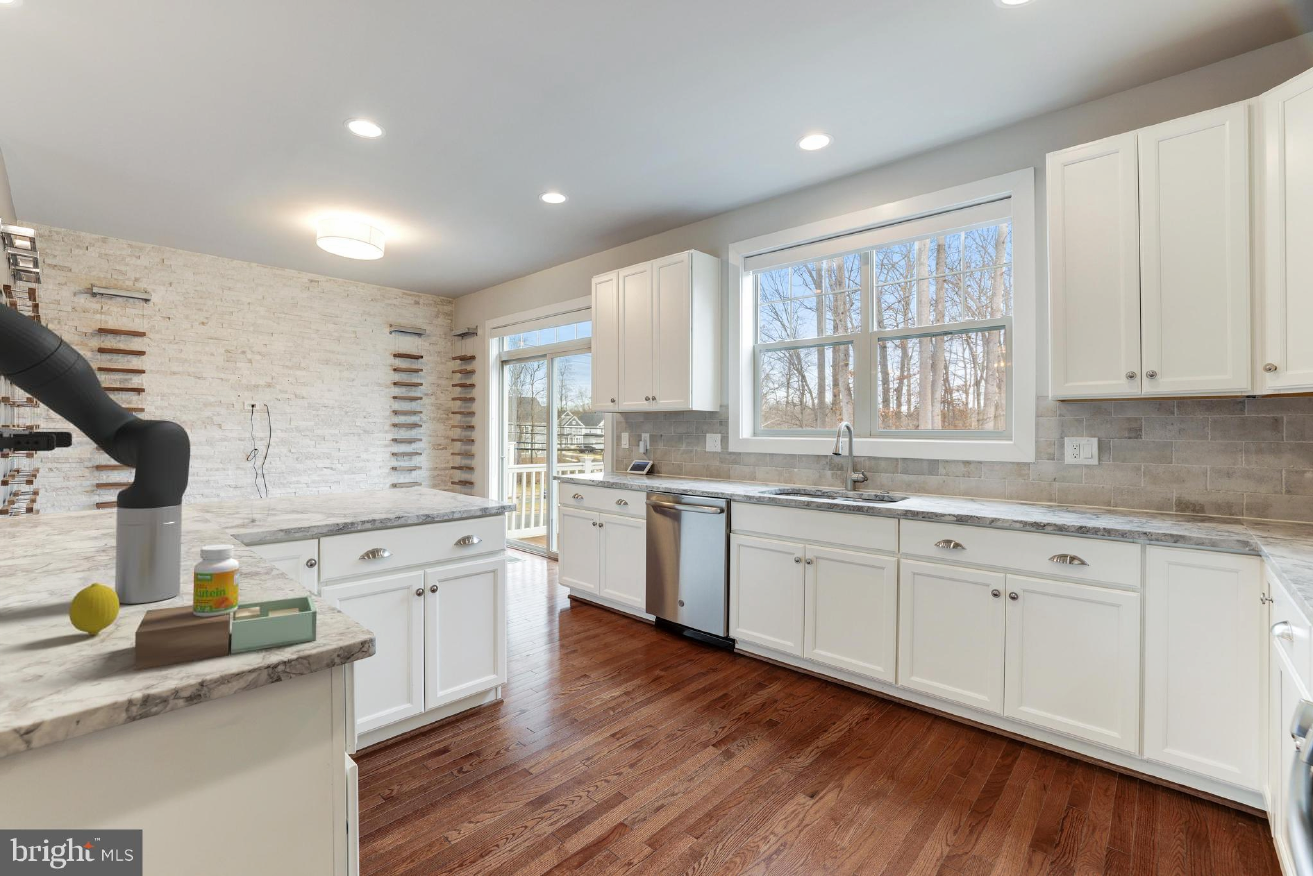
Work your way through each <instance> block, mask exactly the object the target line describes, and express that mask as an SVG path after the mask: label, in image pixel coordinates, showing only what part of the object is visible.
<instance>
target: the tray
mask: <svg viewBox="0 0 1313 876" xmlns="http://www.w3.org/2000/svg"><path fill="white" fill-rule="evenodd" d="M315 605H316V604H315V603H314V599H313V597H312V595H302V596H295V597H285V598H279V599H270V600H260V601H259V600H258V601H251V602H244V603H242V602H241V603H238V608H237V609H246V608H254V607H259V609H260V618H253V619H246V620H238V621H235V618H236V610H237V609H236V610H235V611H234V612H232V620H231V643H230V645H231V647H230V649H231V652H230V654H237V653H243V652H244V653H245V652H249V651H256V650H261V649H262V650H263V649H268V648H275V647H280V646H281V647H282V646H288V645H295V644H302V643H307V642H312V641H317V609H316V606H315ZM294 608H298V610H299V613H291V614H284V615H276V616H269V617H268V612H270V611H278V610H286V609H294Z"/></svg>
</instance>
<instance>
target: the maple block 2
mask: <svg viewBox="0 0 1313 876" xmlns="http://www.w3.org/2000/svg"><path fill="white" fill-rule="evenodd" d="M291 613H299V610H298V608H294V609H286V610H278V611H270V612H268V617H269V616H276V615H284V614H291Z"/></svg>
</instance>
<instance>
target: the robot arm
mask: <svg viewBox="0 0 1313 876" xmlns="http://www.w3.org/2000/svg"><path fill="white" fill-rule="evenodd" d="M0 376H2V377H3V378H4V379H6V380H7V381H9V383H11V384H12V385H14V386H16V387H17V388H18V389H20V390H22V392H24V393H26V394H28V395H30V396H31V397H32V398H34V399H35V400H37V401H38V402H39V403H41V404H43V406H45V407H47V408H48V409H49V410H50V411H52V412H54V413H55V414H57V415H58V416H60V417H61V418H63V419H64V420H66V422H69V423H71V424H72V425H73V426H74V427H76V428H77V429H78V430H79V431H80V432H81V433H83V434H84V435H85V436H86V437H87V438H88V439H89V440H90V441H92V443H93V444H95V445H96V446H98V448H99V449H101V450H102V451H103V452H104V453H105V454H106V455H107V456H109V458H111V460H113V461H114V462H116V463H118V464H119V465H122V466H125V467H127V468H132V469H135V471H134V476H133V481H132V483H131V484H130V485H129V486H127V487H126V488H124V489H122V490H120V491H118V493H117V496H116V527H115V528H116V530H115V531H116V534H115V535H116V536H115V574H114V575H115V576H114V578H115V579H114V582H115V583H114V591H115V592H116V594H117V596H118V599H119V604H127V605H128V604H131V605H132V604H143V603H151V602H158V601H163V600H167V599H171V598H173V597H176V596H179V594H180V593H181V571H182V570H181V569H182V568H181V567H182V566H181V563H182V561H181V559H182V558H181V557H182V516H183V515H182V512H183V510H182V509H183V508H182V507H183V506H182V505H183V504H182V503H183V496H184V495H185V492H186V489H187V488H188V484H189V475H190V462H191V441H190V438H189V434H188V432H187V431H186V430H185V428H184V427H183V426H182V425H181V424H179V423H177V422H174V421H172V420H171V421H170V420H161V419H143V418H140V417H139V416H137V415H135V414H133V413H132V412H131V411H129V410H127V409H126V408H124V407H123V405H121V404H119V402H118V403H117V401H115V400H114V399H113V398H112V397H111V396H110V395H109V394H108V393H107V392H106V391H105V389H104V387H103V385H102V384H101V382H100V379H99V377H98V375H97V373H96V371H95V370H94V368H93V366H92V365H91V364H90V362H89V360H87V359H86V357H84V356H83V355H82V354H81V352H79V351H78V350H77V349H75V348H74V347H72V345H70V344H69V343H68V342H67V341H66V340H64V339H63V338H62V337H61V336H59V335H58V334H57V333H55V332H54V331H53V330H51V329H50V328H48V327H47V326H45V325H44V324H42V323H40V322H38V321H36V320H35V319H33V318H32V317H30V316H28V315H26V314H24V313H23V312H20V311H19V310H17V309H14V308H12V307H10V306H9V305H6V304H5V303H3V302H1V301H0ZM72 445H73V434H72V433H71V432H70V431H35V430H31V429H27V428H24V429H13V428H12V427H10V426H7V427H6V426H0V454H8V453H9V454H10V453H12V452H52V451H54V450H56V448H61V449H62V448H70V447H72Z"/></svg>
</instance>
